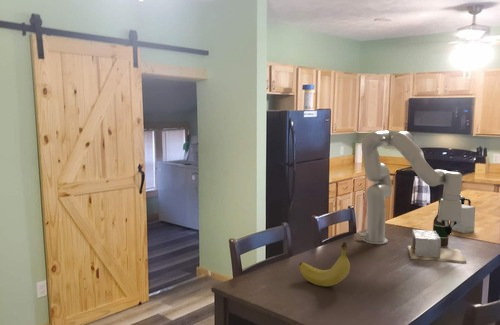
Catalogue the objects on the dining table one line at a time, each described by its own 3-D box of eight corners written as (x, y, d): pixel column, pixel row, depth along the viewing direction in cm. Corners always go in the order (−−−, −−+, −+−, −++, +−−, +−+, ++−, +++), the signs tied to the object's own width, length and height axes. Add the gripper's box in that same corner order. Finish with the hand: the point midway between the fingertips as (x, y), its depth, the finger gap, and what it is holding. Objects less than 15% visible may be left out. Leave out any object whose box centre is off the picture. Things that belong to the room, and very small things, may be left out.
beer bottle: (450, 247, 216) (452, 201, 214) (434, 246, 218) (436, 201, 215) (446, 242, 224) (448, 198, 221) (430, 241, 225) (432, 198, 223)
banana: (295, 280, 173) (295, 233, 171) (303, 276, 178) (303, 230, 175) (345, 295, 159) (346, 244, 156) (352, 290, 163) (353, 240, 161)
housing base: (410, 258, 199) (411, 253, 199) (407, 247, 216) (407, 242, 216) (466, 263, 192) (466, 257, 192) (458, 251, 209) (458, 246, 209)
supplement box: (474, 231, 244) (476, 206, 243) (463, 233, 241) (464, 208, 239) (461, 228, 253) (463, 203, 251) (450, 229, 249) (451, 205, 248)
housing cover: (415, 255, 199) (415, 238, 198) (412, 246, 214) (412, 229, 213) (440, 257, 196) (440, 239, 195) (435, 247, 211) (435, 230, 210)
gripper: (466, 197, 202) (462, 233, 204) (433, 194, 206) (430, 230, 209) (470, 200, 195) (466, 238, 197) (435, 197, 199) (432, 234, 201)
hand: (447, 234), depth 203 cm, fingers closed
